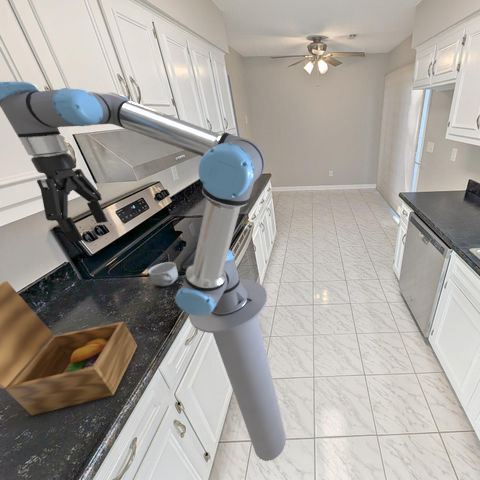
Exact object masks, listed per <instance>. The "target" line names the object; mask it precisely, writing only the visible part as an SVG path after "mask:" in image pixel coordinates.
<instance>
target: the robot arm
mask: <svg viewBox="0 0 480 480" xmlns="http://www.w3.org/2000/svg"><path fill="white" fill-rule="evenodd" d="M0 109H1V110H2V111H3V114H4V116H5V118H7V120H8V122H9V124H10V125H11V127H12V129H13V131H14V132H15V134H16V135H17V138H18V139H19V141H20V142H21V144H22V146H23V148H24V150H25V151H26V153H27V155H28V156H32V157H31V159H30V161H31V162H32V164H33V165H34V168H35V169H36V171H37V172H38V173H39V174H44V175H45V177H46V178H41V179H40V178H39V179H37V180H36V184H37V185H38V187H39V189H40V194H41V199H42V204H43V208H44V214H45V219H46V221H51V222H53V221H56V222H57V225H58V226H59V227H60V229H61V231H62V232H63V233H64V235H65V236H66V238H67V240H68V242H69V243H76V242H83V241H84V238H83V236H82V235H81V233H80V231H79V229H78V227H77V226H76V223H75V222H74V220H73V218H72V217H71V216H69V211H68V208H69V195H70V194H71V192H72V191H74V192H75V193H76V194H78V195H79V196H80V197H82V198H83V199H84V200H86V201H87V202H86V205H87V206H88V209H89V210H90V212H91V214H92V216H93V218H94V220H95V223H96V224H101V223H103V224H104V223H107V222H108V218H107V216H106V214H105V212H104V210H103V208H102V206H101V204H100V201H102V200H103V199H102V195H101V193H100V192H99V190H98V189H97V188H96V187H95V186H94V185H93V184H92V182H91V181H90V180H89V178H87V176H86V175H85V173H84V172H83V169H81V168H77V163H76V161H75V160H74V158H73V156H72V154H70V153H68V152H69V150H70V149H69V148H68V146H67V144H66V142H65V140H64V137H63V136H62V134H61V132H60V129H59V128H65V127H66V128H67V127H69V128H70V127H91V126H97V125H112V126H113V125H114V126H117V127H119V128H122V129H125V130H128V131H131V132H134V133H137V134H140V135H143V136H144V137H148V138H151V139H153V140H156V141H159V142H161V143H164V144H167V145H171V146H173V147H176V148H178V149H181V150H184V151H186V152H190V153H192V154H196V155H197V156H201V159H200V161H199V164H198V177H199V180H200V182H201V183H202V189H201V192H202V195H203V196H204V197H205V199H206V202H205V205H204V210H203V216H202V220H201V225H200V229H199V234H198V240H197V245H196V249H195V253H194V258H193V264H191V265H189V266H188V267H187V268H186V271H185V274H184V280H183V284H182V285H181V287H180V288H179V289H178V290H177V292H176V294H175V297H174V301H175V303H176V305H177V307H178V308H180V309H181V311H182V312H184V313H186V314H188V315H189V314H191V315H194V316H204V315H208V314H210V313H213V314H215V315H219V316H224V315H230V314H233V313H235V312H237V311H239V310H241V309H242V308H243V307H244V306H245V305H246V304H247V302H248V300H249V301H251V299H249V296H248V293H247V291H246V289H245V288H244V286H243V285H242V284H241V282H240V280H241V279H240V277H239V273H238V269H237V264H236V260H235V257H234V253H233V252H232V251H231V250H230V247H231V243H232V239H233V236H234V232H235V229H236V226H237V222H238V218H239V215H240V211H241V208H242V207H245V206H247V205H248V204H249V201H250V198H251V194H252V191H253V188H254V185H255V183H256V182H257V180H258V179H259V178H260V177H261V176H262V174H263V173H264V170H265V166H266V165H265V164H266V160H265V159H266V158H265V155H264V153H263V151H262V149H261V148H260V147H259V145H257V144H256V143H255V142H253V141H252V140H250V139H247V138H245V137H244V138H243V137H240V136H237V135H234V134H231V133H229V132H225V131H224V132H222V133H218V132H215V131H212V130H210V129H207V128H205V127H202V126H199V125H196V124H193V123H191V122H188V121H185V120H183V119H180V118H177V117H175V116H173V115H169V114H166V113H163V112H161V111H158V110H155V109H153V108H150V107H148V106H145V105H141V104H139V103H136V102H134V101H132V100H131V99H129V97H127V96H126V95H123V94H120V93H116V92H97V91H87V90H85V89H83V88H70V87H64V88H61V89H60V88H59V89H51V90H41V91H40V89H39V87H38V86H37V85H36V84H34V83H32V82H28V81H0Z"/></svg>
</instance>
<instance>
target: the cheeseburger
mask: <svg viewBox="0 0 480 480" xmlns="http://www.w3.org/2000/svg"><path fill="white" fill-rule="evenodd" d="M107 343H108V341H106V340H104V339H95V340H92V341H90V342H88V343H86V344H85V345H84V346H83V347H81V348H79V349H77V350H75V351H74V352H73V354H72V356H71V359H70V363H72V364H71V365H70V366H69V367H68V368H70V369H68V370H67V371H69V372H70V371H75V370H80V369H84V368H88V367H93V365H94V363H95V362H96V360H97V359H98V357H99V355H100V354H101V352H102V351H103V349H104V347H105V346H106V344H107Z"/></svg>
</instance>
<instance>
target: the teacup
mask: <svg viewBox="0 0 480 480" xmlns="http://www.w3.org/2000/svg"><path fill="white" fill-rule="evenodd" d="M147 274H148V275H149V278H150V280H151V282H152V284H153V285H155V286H158V287H166V286H167V287H168V286H170V285H172V284H174V282H175V281H176V280H177V279H178V278H179V273H178V269H177V264H176V263H175V262H173V261H166V262H165V261H164V262H161V263H158V264H155V265H153V266H151V267H150V268H149V269H148V270H147Z"/></svg>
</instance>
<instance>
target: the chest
mask: <svg viewBox="0 0 480 480" xmlns="http://www.w3.org/2000/svg"><path fill="white" fill-rule="evenodd" d="M95 339H104V340H106V341H108V343H107V344H106V346H105V347H104V349H103V351H102V352H101V354H100V355H99V357H98V359H97V360H96V362H95V363H94V365H93V367H88V368H84V369H80V370H75V371H70V372H69V371H67V370H68V369H70V368H68V367H69V366H70V365H71V364H72V363H70V359H71V356H72V354H73V352H74V351H75V350H77V349H79V348H81V347H83V346H84V345H85V344H86V343H88V342H90V341H92V340H95ZM137 348H138V344H137V342H136V340H135V339H134V337H133V335H132V334H131V332H130V330H129V328H128V326H127V324H126V323H125V321H119V322H114V323H108V324H104V325H99V326H93V327H88V328H84V329H79V330H75V331H69V332H65V333H64V332H63V333H60V334H53V335H52V336H51V337H50V339H49V340H48V341H47V342H46V343H45V344H44V345H43V346H42V348H41V349H40V350H39V351H38V352H37V353H36V354H35V355H34V357H33V358H32V359H31V360H30V361H29V362H28V363H27V364H26V366H25V367H24V368H23V369H22V370H21V371H20V372H19V373H18V375H17V376H16V377H15V378H14V379H13V380H12V381H11V382H10V383H9V385H8V386H7V387H6V388H4V389H5V391H6V392H7V393H8V394H9V395H10V396H11V397H12V398H13V399H14V400H15V401H16V402H17V403H18V404H19V405H21V407H22V408H23V409H25V410H26V411H27V413H29V414H30V415H31V416H35V415H39V414H44V413H48V412H51V411H56V410H60V409H65V408H68V407H71V406H72V407H73V406H76V405H79V404H84V403H88V402H91V401H95V400H99V399H105V398H107V397H111V396H114V395H115V393H116V391H117V389H118V387H119V385H120V383H121V382H122V379H123V377H124V375H125V373H126V370H127V369H128V367H129V364H130V362H131V360H132V358H133V356H134V354H135V352H136V350H137Z"/></svg>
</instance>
